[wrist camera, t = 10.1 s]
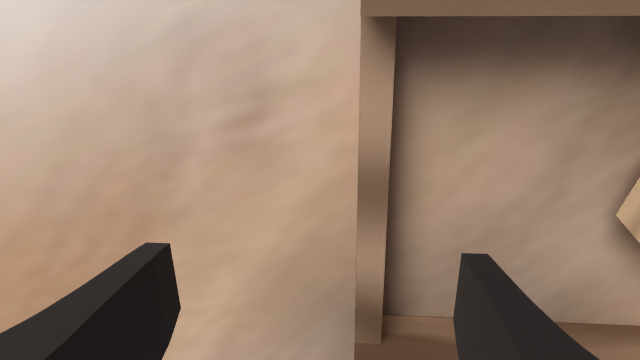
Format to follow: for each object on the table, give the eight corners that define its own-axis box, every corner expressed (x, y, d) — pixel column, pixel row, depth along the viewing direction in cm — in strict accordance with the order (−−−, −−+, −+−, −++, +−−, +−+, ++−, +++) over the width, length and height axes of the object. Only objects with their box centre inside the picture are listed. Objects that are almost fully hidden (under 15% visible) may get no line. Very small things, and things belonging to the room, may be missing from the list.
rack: (644, 342, 25) (697, 422, 21) (355, 329, 26) (353, 402, 22) (775, -37, 18) (896, -25, 14) (362, -33, 19) (361, -21, 15)
